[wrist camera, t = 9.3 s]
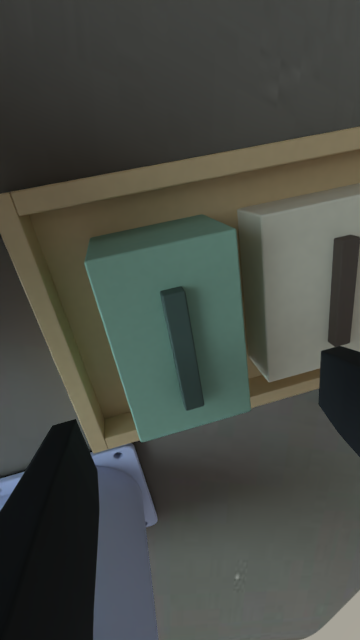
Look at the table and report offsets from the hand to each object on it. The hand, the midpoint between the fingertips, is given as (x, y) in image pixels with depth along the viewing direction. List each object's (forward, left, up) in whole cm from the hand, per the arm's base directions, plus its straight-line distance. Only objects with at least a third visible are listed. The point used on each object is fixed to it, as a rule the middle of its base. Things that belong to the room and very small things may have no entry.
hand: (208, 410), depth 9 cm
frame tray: (+4, 0, -8) cm, 8 cm away
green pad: (0, 0, -7) cm, 7 cm away
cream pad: (+8, 0, -8) cm, 11 cm away
